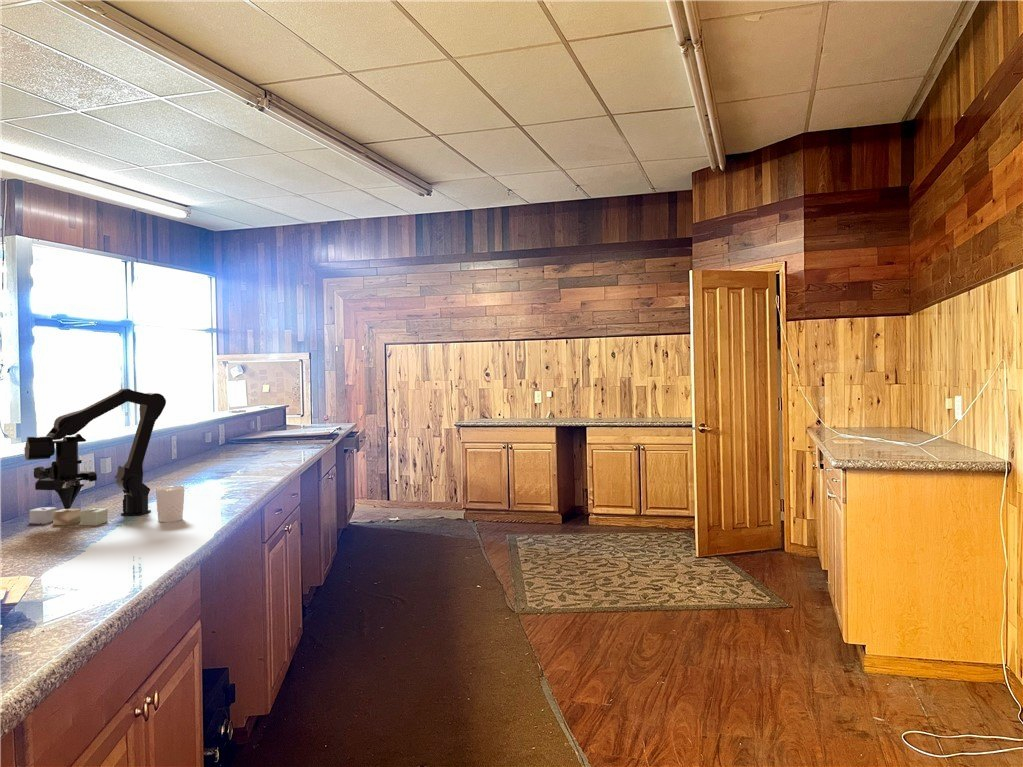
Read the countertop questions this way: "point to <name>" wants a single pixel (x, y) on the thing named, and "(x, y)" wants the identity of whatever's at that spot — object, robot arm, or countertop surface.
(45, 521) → the white die
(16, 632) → the countertop surface
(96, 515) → the sage block one
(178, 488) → the white cup
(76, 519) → the birch block
